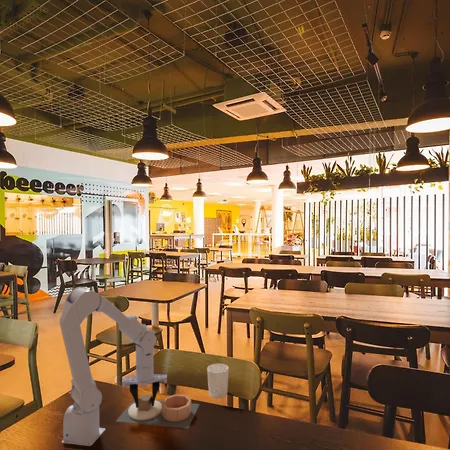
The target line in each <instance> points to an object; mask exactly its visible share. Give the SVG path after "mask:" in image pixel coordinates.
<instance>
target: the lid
mask: <svg viewBox="0 0 450 450" xmlns="http://www.w3.org/2000/svg"><path fill="white" fill-rule="evenodd" d="M159 401H160V400H157V401H156V399H155V402H154V406H152V395H150V394H141V396H140V397H138V408H136V404H135V403H134V404H132V405H131V406H130V407H129V409H128V415H129V417H130V418H131V419H133V420H137V421H144V420H149V419H152V418H155V417H156V416H158V415H159V414H160V413H161V411H162V404H161V403H160V402H159Z"/></svg>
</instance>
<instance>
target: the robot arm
mask: <svg viewBox="0 0 450 450" xmlns="http://www.w3.org/2000/svg"><path fill="white" fill-rule="evenodd" d="M64 300H65V303H64V306H63V309H62V312H61V316H60V318H59V327H60V331H61V336H62V339H63V343H64V348H65V351H66V356H67V360H68V364H69V369H70V372H71V373H70V374H71V378H72V379H71V381H70V382H71V389H70V397H71V399H72V400H73V401H74V402H73V404H71V405H69V406H68V408H67V409H66V410H65V412H64V416H63V421H62V424H63V425H62V428H63V429H62V430H63V431H62V433H63V434H62V437H63V438H62V441H61V444H69V445H71V444H72V445H78V446H87V447H91V446H92V445H93V444H94V443H95V442H96V441H97V440H98V439H99V438H100V437H101V435H102V434H103V433H104V432H105V431H106V428H105V427H100V405H101V404H102V400H103V394H102V391H100V390H99V389H98V388H97V384H96V383H97V382H96V381H95V379H94V377H93V376H92V372H91V368H90V363H89V359H88V354H87V351H86V346H85V342H84V341H85V340H84V337H83V333H82V328H81V324H82V323H83V322H84V320H85V319H86V318H87V317H88V316H90V315H91V314H93V312H97V313H101V312H102V313H103V314H105V315H106V316H107V317H108V318H110V319H112V320H113V321H114V322H115V323H116V324H117V325H118V326H117V327H118V330H119V331H120V332H121V333H123V334H124V335H125V336H126V337H128V338H129V339H130V340H131V341H132V342H133V344H135V376H130V377H128V378H122V381H121V383H122V384H121V385H122V386H121V387H122V388H126V387H128V386H129V392H130V394H131V396H132V398H133V400H134V401H135V404H136V408H138V399H139V385H140V386H143V387H144V386H148V385H149V384H152V385H151V389H152V390H151V391H152V406H154V402H155V400H156V396H157V394H158V392H159V390H160V387H161V383H163V384H167V383H168V374H156V373H155V374H154V369H155V368H154V347H155V345H156V344H157V343H156V342H157V339H158V337H156V335H155V332H154V331H153V330H150V329H147V328H148V326H147V325H146V324H145V323H144V324H143V323H142V322H140V320H138V319H139V317H137V316H136V315H132V314H128V315H127V314H126V315H125V314H124V313H123V312H122V311H121V310H120V309H119V308H118V307H117V306H115V305H114V304H113V303H112V302H111V301H110V300H109V299H107V298H105V296H102V295H100V294H98V292H97V291H94V290H89V289H88V288H86V287H84V286H78V287H75V288H73V289H72V290H71V291H70V292H69V294H68V295H67V296H66V298H65V299H64Z"/></svg>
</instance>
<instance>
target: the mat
mask: <svg viewBox="0 0 450 450" xmlns="http://www.w3.org/2000/svg"><path fill="white" fill-rule="evenodd" d="M155 400H156V399H155ZM156 401H159V402H160V403H161V404H162V402H163V401H164V400H158V399H157V400H156ZM134 403H135V401H134V399H133V400H132V402H131V403H130V404H129V405H128V406H127V407H126V408H125V410H124V411H123V412H122V414H120V416H119V417H118V418H117V419H116V420H115V422H119V423H129V424H137V425H147V426H157V427H158V426H159V427H169V428H177V429H178V428H179V429H186V430H187V429H189V428H190V426H191V423H192V422H193V419H194V418H195V415H196V413H197V411H198V409H199V406H200V405H201V404H200V403H192V402H191V413H190V416H189V417H188V418H187V419H185V420H183V421H179V422H170V421H167V420H165V419H164V418H163V416H162V411H161V413H160V414H159V415H158V416H156V417H155V418H152V419H149V420H144V421H137V420H133V419H131V418H130V417H129V415H128V409H129V407H130V406H131V405H132V404H134Z"/></svg>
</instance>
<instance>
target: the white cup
mask: <svg viewBox="0 0 450 450" xmlns="http://www.w3.org/2000/svg"><path fill="white" fill-rule="evenodd" d="M229 369H230V368H229V366H228V365H227V364H224V363H213V364H210V365H208V366H207V369H206V370H207V371H206V372H207V384H208V395H209V397H211V398H213V399H223V398H226V397H227V396H228V388H229Z"/></svg>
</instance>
